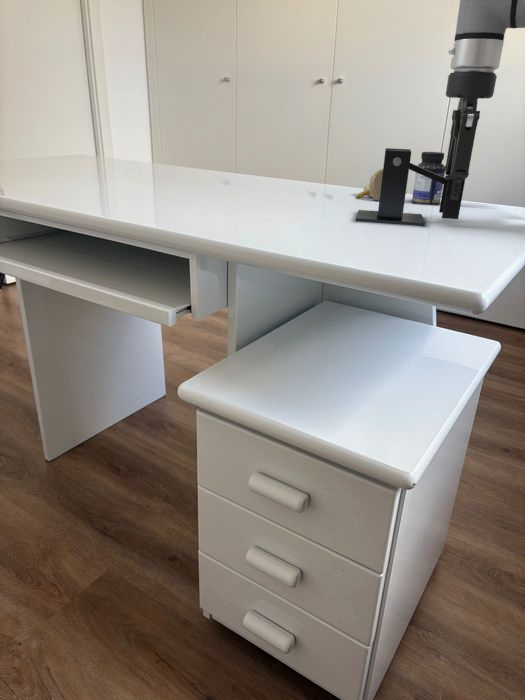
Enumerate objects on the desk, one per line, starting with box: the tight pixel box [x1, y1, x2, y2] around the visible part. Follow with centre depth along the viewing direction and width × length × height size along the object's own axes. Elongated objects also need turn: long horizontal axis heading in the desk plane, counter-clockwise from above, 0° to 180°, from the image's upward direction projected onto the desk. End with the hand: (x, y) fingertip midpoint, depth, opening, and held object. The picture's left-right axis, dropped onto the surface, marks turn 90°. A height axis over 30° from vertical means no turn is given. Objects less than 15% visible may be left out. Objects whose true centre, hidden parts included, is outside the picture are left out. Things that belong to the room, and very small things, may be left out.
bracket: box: [355, 147, 425, 227], centre depth 97 cm, size 12×9×13 cm
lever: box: [409, 162, 448, 186], centre depth 95 cm, size 13×5×2 cm, turn 77°
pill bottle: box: [411, 151, 446, 207], centre depth 118 cm, size 6×6×11 cm
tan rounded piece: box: [354, 168, 383, 202], centre depth 123 cm, size 8×10×10 cm
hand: (448, 215), depth 97 cm, fingers closed on lever, 5 cm apart
